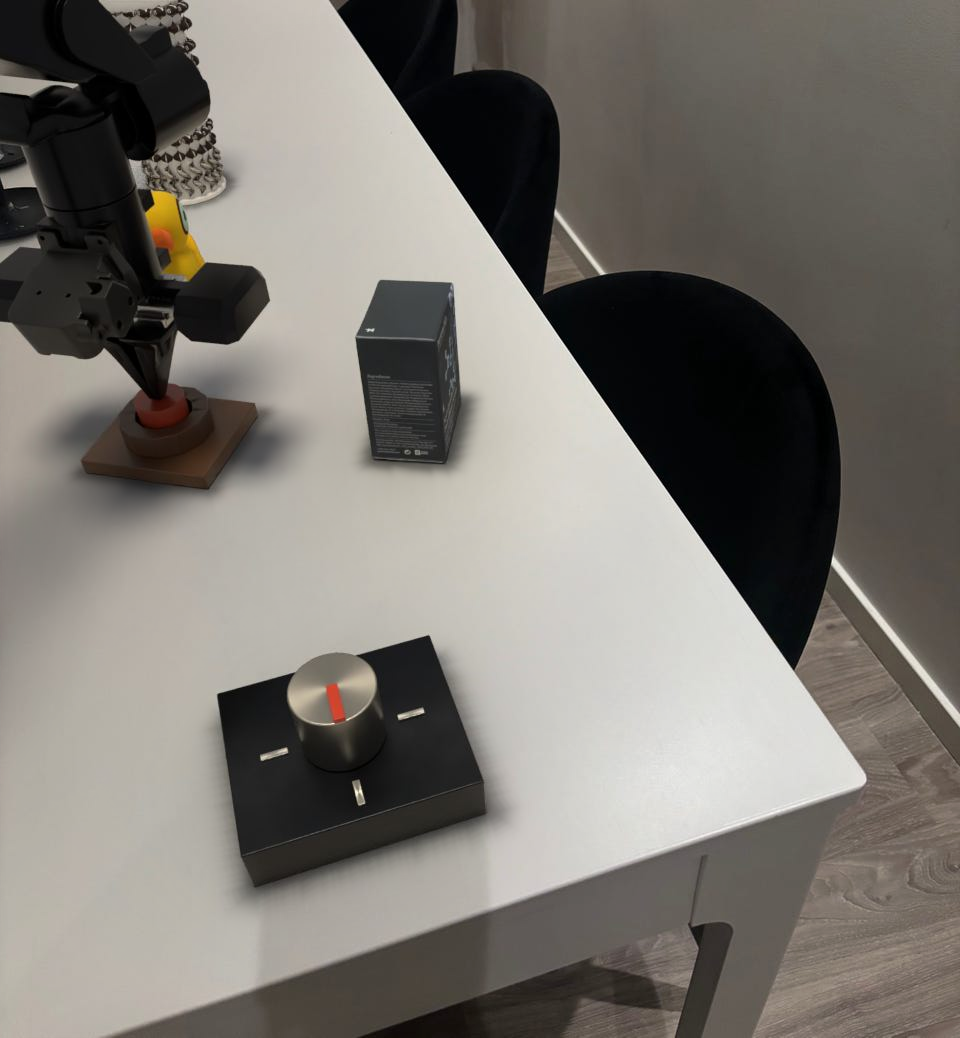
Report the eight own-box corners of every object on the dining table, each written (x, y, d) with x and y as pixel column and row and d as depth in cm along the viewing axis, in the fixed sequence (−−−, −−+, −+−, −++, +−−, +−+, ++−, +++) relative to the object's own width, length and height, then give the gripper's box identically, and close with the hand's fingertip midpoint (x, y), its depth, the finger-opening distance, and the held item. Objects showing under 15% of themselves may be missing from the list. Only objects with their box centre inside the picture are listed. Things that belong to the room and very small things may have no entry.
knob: (294, 712, 51) (279, 661, 48) (376, 690, 52) (365, 638, 49) (308, 782, 48) (293, 732, 45) (395, 757, 49) (385, 706, 46)
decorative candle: (152, 214, 103) (73, -51, 86) (141, 181, 109) (66, -72, 92) (236, 197, 105) (176, -66, 88) (221, 165, 111) (162, -85, 94)
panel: (253, 887, 47) (239, 855, 45) (228, 725, 54) (215, 691, 52) (487, 813, 49) (484, 779, 47) (433, 667, 56) (429, 632, 54)
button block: (85, 472, 71) (71, 440, 69) (144, 401, 78) (133, 370, 76) (207, 489, 69) (197, 457, 67) (258, 414, 76) (250, 383, 74)
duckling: (214, 319, 86) (185, 214, 80) (153, 329, 86) (118, 224, 79) (209, 260, 95) (183, 160, 88) (154, 269, 94) (123, 169, 87)
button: (131, 428, 71) (124, 408, 70) (155, 399, 73) (148, 380, 72) (175, 433, 70) (169, 414, 69) (198, 404, 73) (192, 385, 71)
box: (447, 464, 70) (435, 339, 63) (371, 460, 71) (351, 336, 64) (463, 400, 76) (454, 279, 68) (393, 397, 76) (376, 276, 69)
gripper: (-126, 241, 56) (-18, 450, 67) (162, 265, 52) (228, 483, 63) (-11, 162, 64) (69, 361, 75) (247, 178, 60) (293, 385, 71)
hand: (158, 396), depth 70 cm, fingers closed
